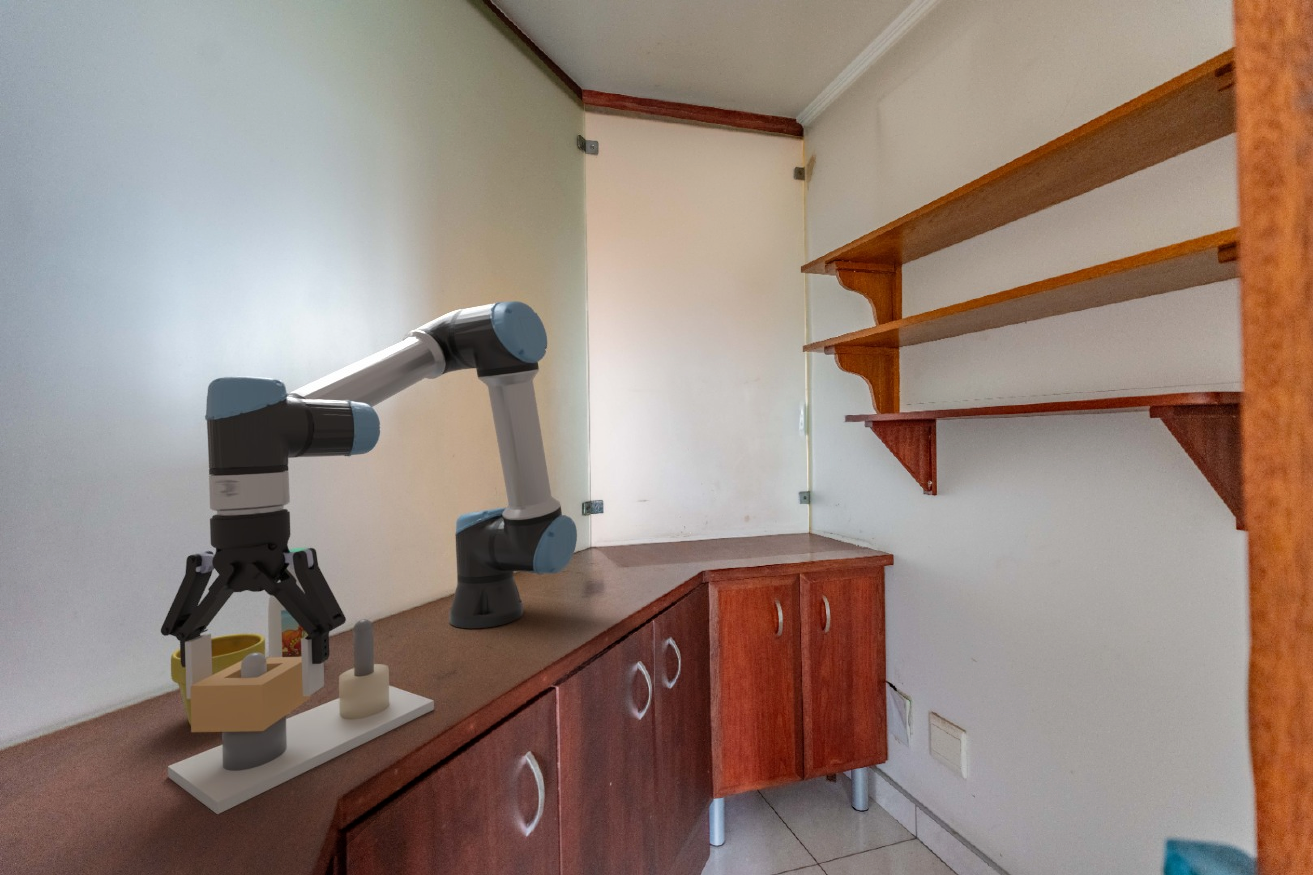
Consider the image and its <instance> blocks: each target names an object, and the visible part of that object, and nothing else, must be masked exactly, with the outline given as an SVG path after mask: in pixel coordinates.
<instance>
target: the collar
mask: <svg viewBox="0 0 1313 875" xmlns="http://www.w3.org/2000/svg"><path fill="white" fill-rule="evenodd" d="M242 661H243V660H242ZM242 661H240V662H238V663H236V664H234V665H232V666H230V667H228V668H226V669H224V670H222V671H220V672H218V673H216V674H214V675H212V676H210V677H208V678H206V679H204V680H202V681H200V682H198V683H196V684H194V685H192V686H190V688H191V725H190V727H191V728H190V732H191V733H216V732H217V733H220V732H221V733H222V732H238V731H264V730H265V729H267V728H268V727H269V726H271V725H272V724H274V723H275V722H277V721H278V720H280V719H281V718H282V717H284V716H285V715H286V716H287V715H289V714H290V713H291V712H292V711H293V712H294V710H296V709H297V708H298V707H300V706H302V705H303V704H304V703H305V702H308V701H309V700H310V699H311V698H312V695H310V696H303V687H302V657H269V656H268V657H266V661H267V673H265V674H263V675H261V676H260V677H254V678H241V663H242Z"/></svg>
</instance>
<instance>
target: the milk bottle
mask: <svg viewBox="0 0 1313 875" xmlns="http://www.w3.org/2000/svg"><path fill="white" fill-rule="evenodd" d="M308 548H309V547H295V548H294V547H293V548H288V549H289V551H290V552H291V553H292V552H298V551H302V550H305V549H308ZM290 565H291V564H289V566H288V567H287V570H288V571H289V572H290V573H291V574H292V575H293V576H294V577H295V579H296V584H297V585H298V586H299V587H300V589H301V590H302V591H303V592H304V590H303V589H302V587H301V585H300V583H299V581H298V579H297V577H296V574H295V570H294V569H291V568H290ZM279 582H281V581H280V580H279V581H278V582H277V583H279ZM304 593H305V592H304ZM267 610H268V612H267V614H268V616H267V617H268V620H267V622H268V624H267V625H268V627H267V631H268V636H267V638H268V658H269V657H302V655H301V639H302V638H304V637H306V636H308V634H307V633H306V632H305V631H304V630H303V628H302V627H301V626H300V625H299V624H298V623H297V622H296V620H295V619H294V618H293V617H292V616H291V615H290V614H289V612H288V611H287V610H286V609H285V608H284V607H283V606H282V605H281V603H280V602H279V601H278V600H277V599H276V598H275V597H274V596H272V595H269V598H268V609H267Z"/></svg>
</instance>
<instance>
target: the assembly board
mask: <svg viewBox="0 0 1313 875" xmlns="http://www.w3.org/2000/svg"><path fill="white" fill-rule="evenodd" d="M352 632H353V633H352V634H353V635H352V637H353V639H352V640H353V668H349V669H347V670H345V671H344V672H343V673H341V674H339V676H338V695H339V696H338V698H336V699H332V700H331V701H328V702H325V703H322V704H321V705H318V706H316V707H313V708H310V709H309V710H305V711H302V712H300V713H298V714H296V715H292V716H291V717H288V718H287V715H285V716H284V717H282V718H281V719H280V720H278V721H277V722H275V723H274V724H272V725H271V726H269V727H268V728H267V729H265V730H264V731H238V732H221V740H222V741H221V744H220V745H218V746H215V747H213V748H210V749H207V750H205V751H203V752H199V753H197V754H195V755H192V756H191V757H187V758H185V759H182V760H180V761H177V762H175V763H172V764H170V765H168V766H167V778H168V779H170V780H172V782H174V783H175V784H177V785H178V786H179V787H180V788H182V789H183V790H184V791H186V792H187V793H189V794H190V795H191V796H192V797H194V798H195V799H197V801H199V802H201V804H203V805H205V806H206V807H207V808H208V809H209V810H211V811H212V812H214V813H215V814H217V815H220V814H221V813H223V812H225V811H228V810H230V809H231V808H234V807H235V806H239V805H240V804H242V803H244V802H246V801H249V800H250V799H252V798H254V797H256V796H258V795H261V794H262V793H265V792H267V791H269V790H270V789H273V788H275V787H277V786H279V785H281V784H283V783H285V782H287V781H290V780H291V779H294V778H296V777H298V776H299V775H302V774H304V773H306V772H307V771H310V770H312V769H314V768H315V767H316V768H317V767H319V766H320V765H322V764H325V763H326V762H328V761H330V760H332V759H335V758H336V757H339V756H341V755H342V754H345V753H347V752H348V751H351V750H352V749H355V748H357V747H359V746H362V745H363V744H366V743H368V742H369V741H372V740H374V739H376V738H379V736H382V735H384V734H386V733H388V732H390V731H392V730H395V729H396V728H398V727H401V726H403V725H404V724H407V723H408V722H411V721H413V720H415V719H417V718H419V717H421V716H423V715H425V714H427V713H430V712H431V711H433V710H435V709H434V708H435V701H434V700H433V699H431V698H427V697H424V696H421V695H419V694H415V693H412V692H409V691H406V690H403V689H401V688H397V687H396V686H393V685H390V671H389V669H390V668H389V666H388V665H386V664H382V663H375V657H374V656H375V655H374V654H375V651H374V649H375V648H374V646H375V645H374V624H373V622H372V621H371V620H370V619H365V618H364V619H360V620H358V621H356V623H355V624H354V626H353V627H352ZM266 658H267V657H266V655H265V656H264V655H263V654H261V653H251V654H249V655H247V656H246V657H245V658H244V659H243V661H242V663H241V678H254V677H260V676H261V675H263V674H265V673H267V661H266Z"/></svg>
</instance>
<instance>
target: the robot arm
mask: <svg viewBox="0 0 1313 875" xmlns="http://www.w3.org/2000/svg"><path fill="white" fill-rule="evenodd" d="M547 349H548V335H547V331H546V329H545V325H544V324H543V321H542V319H541V318H540V316H539V314H538V313H537V312H535V311H534V309H533V308H532V307H531V306H529V305H528V304H526V303H525V302H522V301H517V300H514V301H513V300H510V301H499V302H498V301H497V302H494V303H488V304H485V305H484V304H483V305H479V306H474V307H468V308H461V309H457V310H454V311H451V312H449V313H446V314H443V315H442V316H440V317H437V318H436V319H434V320H432V321H429V322H427V323H426V324H424V325H421V326H420V327H418V328H415V329H414V330H411V331H408V332H406V334H405V335H404V337H403V339H402V341H401V342H399V343H396V344H394V345H392V346H389V347H388V348H385V349H384V350H381V351H379V352H376V353H374V354H372V355H370V356H368V357H365V358H363V359H362V360H359V361H357V362H355V363H352V364H350V365H348V366H346V367H344V368H341V369H339V370H337V371H335V372H332V373H330V374H328V375H326V376H324V377H321V378H320V379H318V380H314V381H312V382H310V383H308V384H306V385H304V386H302V387H299V388H298V389H295V390H293V391H291V392H289V393H288V392H287V391H288V390H287V387H286V384H285V383H284V382H283V381H282V380H280V379H275V378H272V377H271V378H270V377H260V376H224V377H218V378H216V379H214V380H212V381H211V382H210V383H209V384H208V387H207V393H206V410H205V416H204V418H205V419H204V420H206V428H207V429H206V430H207V431H206V433H207V451H208V455H207V456H208V468H209V469H208V481H209V482H208V484H209V509H211V510H212V511H214V512H216V514H214V515H212V516H211V517H210V518H209V534H210V545H211V547H213V548H214V549H215V554H214V552H213V551H212V550H207V551H203V552H199V553H195V554H190V555H188V556H187V557H186V562H185V564H186V565H185V573H184V574H185V575H183V578H182V581H181V583H180V585H179V587H178V590H177V592H176V595H175V596H174V599H173V601H172V603H171V605H170V607H169V610H168V612H167V614H166V617H165V619H164V620H163V623H162V626H161V628H160V634H161V635H163V636H164V637H166V636H172V637H175V638H176V640H178V641H179V648H180V654H181V655H180V657H181V665H182V667H186V696H187V699H191V688H190V686H192V685H194V684H196V683H198V682H200V681H202V680H204V679H206V678H208V677H210V676H212V649H211V638H212V633H206V632H207V631H208V630H209V629H207V628H208V626H209V625H210V623H212V621H213V620H214V618H215V617H216V616H217V614H219V611H220V610H221V609H222V608H223V607H224V605H225V604H226V603H227V602H228V600H229V599H230V598H231V597H232V595H233V594H234V593H242V592H245V591H249V592H251V593H252V592H254V593H258V592H263V591H264V592H266V594H268V595H269V596H270V595H272V596H274V597H275V598H276V599H277V600H278V601H279V602H280V603H281V605H282V606H283V607H284V608H285V609H286V610H287V611H288V612H289V614H290V615H291V616H292V617H293V618H294V619H295V620H296V622H297V623H298V624H299V625H300V626H301V627H302V628H303V630H304V631H305V632H306V633H307V634H308V636H306V637H304V638H302V639H301V655H302V687H303V696H310V695H311V696H312V695H313V694H314V693H316V692H317V691H319V690H320V689H321V688H323V687H325V668H324V666H325V665H324V662H325V661H328V659H329V657H330V632H331V631H333V630H335V629H337V628H339V627H340V626H342V625H344V624H345V623H346V620H347V619H346V615H345V614H344V612H343V610H342V608H341V607H340V604H339V603H338V601H337V599H336V597H335V595H334V593H333V591H332V589H331V588H330V585H329V584H328V582H327V580H326V578H325V576H324V573H323V572H322V570H321V568H320V566H319V562H318V555H317V550H316V549H315V548H313V547H307V548H308V549H305V550H302V551H298V552H292V553H291V552H290V551H289V549H290V548H289V545H288V543H289V540H290V537H291V512H290V511H289V510H288V509H286V508H285V507H284V506H286V505H289V503H290V502H291V501H290V500H291V499H290V478H289V477H290V476H289V458H312V457H314V458H315V457H317V458H318V457H339V456H341V457H342V456H344V457H352V456H356V455H357V456H358V455H364V454H367V453H369V452H371V451H372V450H373V449H374V448H375V447H376V445H377V443H379V439H380V436H381V430H380V428H381V426H380V425H381V423H380V422H381V421H380V418H379V415H378V413H377V412H376V410H375V409H374V407H375V406H377V405H379V404H381V403H382V402H384V401H385V400H387V399H389V398H391V397H393V396H395V395H397V394H398V393H401V392H402V391H404V390H406V389H407V388H409V387H411V386H413V385H414V384H415V385H416V384H417V383H418V382H420V381H422V380H424V379H429V380H430V379H431V380H434V379H437V378H439V377H441V376H443V375H445V374H447V373H451V372H456V371H462V370H469V369H471V370H472V369H475V370H476V374H477V379H478V380H479V381H481V382H483V384H485V385H486V387H487V390H488V395H489V401H490V407H491V411H492V417H493V424H494V429H495V435H496V440H497V441H496V442H497V447H498V453H499V459H500V462H501V468H502V474H503V475H502V476H503V479H504V487H505V491H506V492H505V493H506V497H507V503H508V504H507V506H506V507H504V506H503V507H499V508H492V509H485V510H480V511H479V510H478V511H473V512H468V513H466V512H465V513H462V514H461V515H459V516H458V518H456V519H457V520H456V525H455V529H456V530H455V532H454V535H455V552H456V553H455V554H456V574H457V575H456V578H457V582H456V588H455V592H454V595H453V599H452V603H451V607H450V609H449V613H448V615H449V616H448V617H449V619H448V620H449V624H450V625H451V626H453V627H457V628H460V629H461V628H462V629H481V628H482V629H484V628H491V627H493V628H494V627H498V626H501V625H506V624H510V623H512V622H514V621H516V620H519V619H520V618H522V617H523V615H524V603H523V600H522V599H521V596H520V592H519V588H518V587H517V584H516V580H515V575H514V574H515V572H518V573H529V574H536V575H544V574H547V575H548V574H550V575H554V574H558V573H559V572H561V571H562V570H563V571H564V569H565V568H566V567H567V566H568V565H569V563H570V561H571V560H572V558H573V555H574V553H575V550H576V547H577V539H578V530H577V526H576V523H575V522H574V520H573V518H571V516H567V515H566V514H563V512H562V506H561V503H560V500H557V499H556V498H554V497H553V496H552V492H551V491H552V490H551V486H550V485H551V484H550V479H549V474H548V472H549V471H548V467H547V458H546V454H545V448H544V442H543V435H542V429H541V423H540V416H539V412H538V411H539V410H538V404H537V399H536V393H535V386H534V378H535V377H536V375H537V374H538V373H539V372H540V367H539V362H540V361H541V360H543V358H544V357H545V355H546V353H547V352H546V350H547ZM289 564H291V565H290V568H291V569H294V570H295V574H296V577H297V579H298V581H299V583H300V585H301V587H302V589H303V590H304V592H305V593H304V592H303V591H302V590H301V589H300V587H299V586H298V585H297V584H296V579H295V577H294V576H293V575H292V574H291V573H290V572H289V571H288V570H287V567H288V566H289ZM214 570H215V572H217V573H218V576H217V577H216V578H215V580H214V581H213V582H212V583H211V585H210V586H209V587H208V592H207V594H206V595H205V596H204V597H203V595H204V592H205V591H206V588H207V586H208V584H209V582H210V579H211V576H213V575H212V574H213V571H214ZM279 580H280V581H281V582H279V583H277V582H278V581H279ZM202 597H203V599H202ZM201 599H202V600H201Z"/></svg>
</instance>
